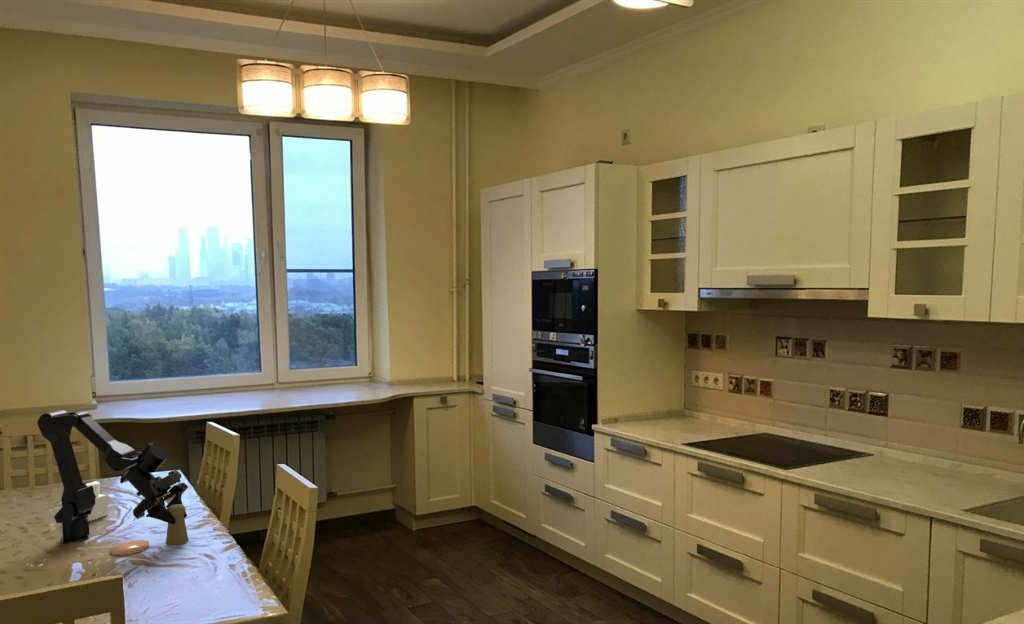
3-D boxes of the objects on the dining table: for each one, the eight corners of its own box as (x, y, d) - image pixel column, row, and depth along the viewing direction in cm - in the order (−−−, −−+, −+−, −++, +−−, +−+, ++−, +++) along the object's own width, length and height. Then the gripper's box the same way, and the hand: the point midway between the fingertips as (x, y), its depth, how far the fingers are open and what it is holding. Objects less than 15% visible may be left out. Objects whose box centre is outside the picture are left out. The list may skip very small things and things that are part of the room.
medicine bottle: (72, 520, 229) (71, 484, 229) (93, 513, 236) (91, 478, 236) (88, 522, 227) (86, 486, 226) (108, 515, 233) (106, 480, 233)
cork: (179, 546, 203) (177, 508, 203) (161, 545, 204) (159, 508, 204) (192, 538, 209) (191, 502, 209) (175, 537, 210) (173, 501, 210)
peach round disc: (112, 558, 195) (112, 555, 195) (108, 548, 203) (107, 545, 203) (152, 549, 201) (152, 546, 201) (146, 540, 209) (146, 537, 209)
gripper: (140, 472, 197) (177, 511, 196) (181, 456, 216) (215, 492, 214) (116, 499, 199) (153, 538, 197) (159, 481, 217) (193, 516, 216)
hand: (180, 520), depth 206 cm, fingers closed on cork, 5 cm apart
